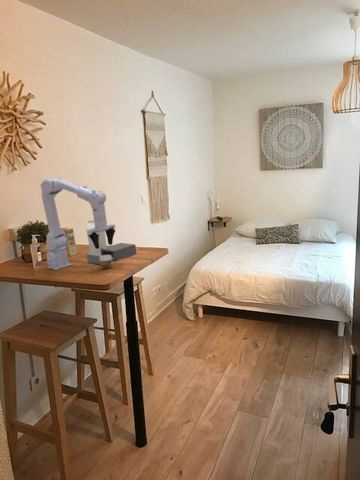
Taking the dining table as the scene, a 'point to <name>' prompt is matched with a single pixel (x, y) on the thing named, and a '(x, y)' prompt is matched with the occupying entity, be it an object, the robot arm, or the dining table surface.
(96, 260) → the grey drawer
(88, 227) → the milk carton
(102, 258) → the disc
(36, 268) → the dining table surface
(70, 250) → the candy box
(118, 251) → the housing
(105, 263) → the brown cylinder
